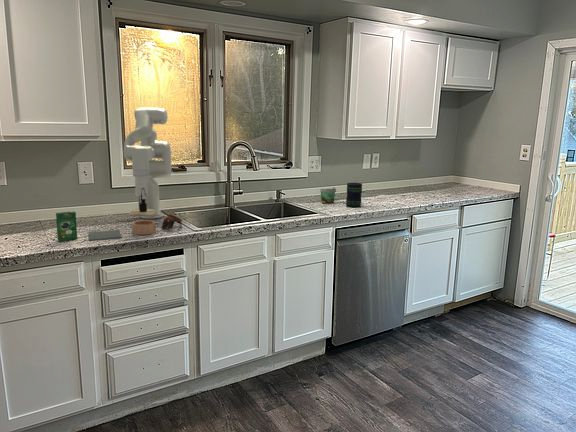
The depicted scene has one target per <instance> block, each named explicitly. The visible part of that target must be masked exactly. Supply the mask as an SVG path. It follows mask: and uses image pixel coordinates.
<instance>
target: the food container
mask: <svg viewBox="0 0 576 432" xmlns="http://www.w3.org/2000/svg"><path fill="white" fill-rule="evenodd" d="M319 192H320V199H321V200H320V203H321V204H324V205H333V204H334V203H335V195H336V192H337V188H336V187H333V188H326V189H325V188H320V191H319Z"/></svg>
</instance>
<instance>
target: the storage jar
mask: <svg viewBox="0 0 576 432" xmlns="http://www.w3.org/2000/svg"><path fill="white" fill-rule="evenodd" d="M362 192H363V184H362V182H361V183H360V182H347V183H346V200H345V204H346V205H345V206H346V207H347V208H350V209H359V208H362Z"/></svg>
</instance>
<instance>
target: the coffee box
mask: <svg viewBox="0 0 576 432" xmlns="http://www.w3.org/2000/svg"><path fill="white" fill-rule="evenodd" d="M55 216H56V217H55V218H56V221H55V222H56V233H57V241H58V242H59V243H60V242H66V241H73V240H77V239H78V231H77V230H78V229H77V227H78V226H77V214H76V211H74V210H70V211H63V212H55Z"/></svg>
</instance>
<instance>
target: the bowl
mask: <svg viewBox="0 0 576 432" xmlns="http://www.w3.org/2000/svg"><path fill="white" fill-rule="evenodd" d="M131 232H132V234H134V235H137V236H149V235H153V234H154V233H155V232H157V223H156V220H152V219H139V220H134V221H132V222H131Z"/></svg>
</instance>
